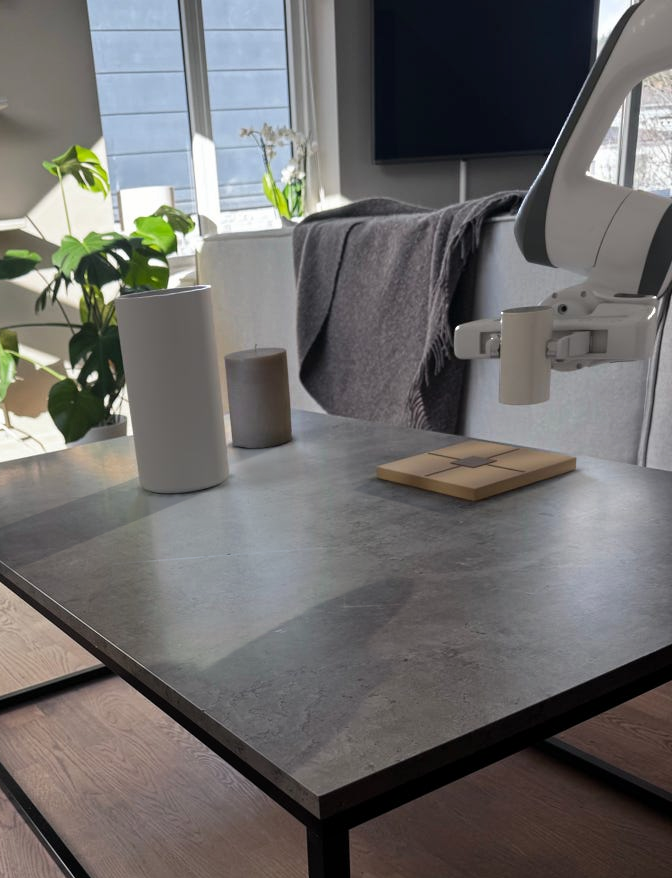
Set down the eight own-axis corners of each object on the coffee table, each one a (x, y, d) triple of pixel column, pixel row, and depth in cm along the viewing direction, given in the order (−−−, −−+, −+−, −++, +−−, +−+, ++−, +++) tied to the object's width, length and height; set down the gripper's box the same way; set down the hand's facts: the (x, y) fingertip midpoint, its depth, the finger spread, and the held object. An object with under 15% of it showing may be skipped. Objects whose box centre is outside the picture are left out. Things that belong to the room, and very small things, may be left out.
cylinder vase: (142, 499, 121) (114, 301, 111) (138, 477, 133) (113, 295, 123) (235, 487, 122) (216, 288, 112) (223, 466, 133) (205, 283, 123)
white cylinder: (544, 393, 97) (548, 304, 93) (554, 402, 93) (559, 309, 89) (495, 397, 98) (497, 309, 94) (502, 407, 93) (505, 314, 90)
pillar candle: (292, 432, 149) (286, 336, 143) (293, 445, 140) (286, 344, 134) (233, 437, 150) (224, 343, 144) (230, 451, 142) (220, 351, 136)
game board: (576, 469, 112) (576, 456, 111) (474, 501, 105) (474, 487, 104) (472, 450, 126) (472, 439, 125) (376, 477, 118) (376, 465, 118)
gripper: (483, 302, 107) (428, 320, 98) (673, 294, 94) (630, 314, 85) (482, 358, 109) (428, 380, 100) (667, 357, 97) (624, 383, 87)
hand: (522, 349), depth 92 cm, fingers closed on white cylinder, 5 cm apart
